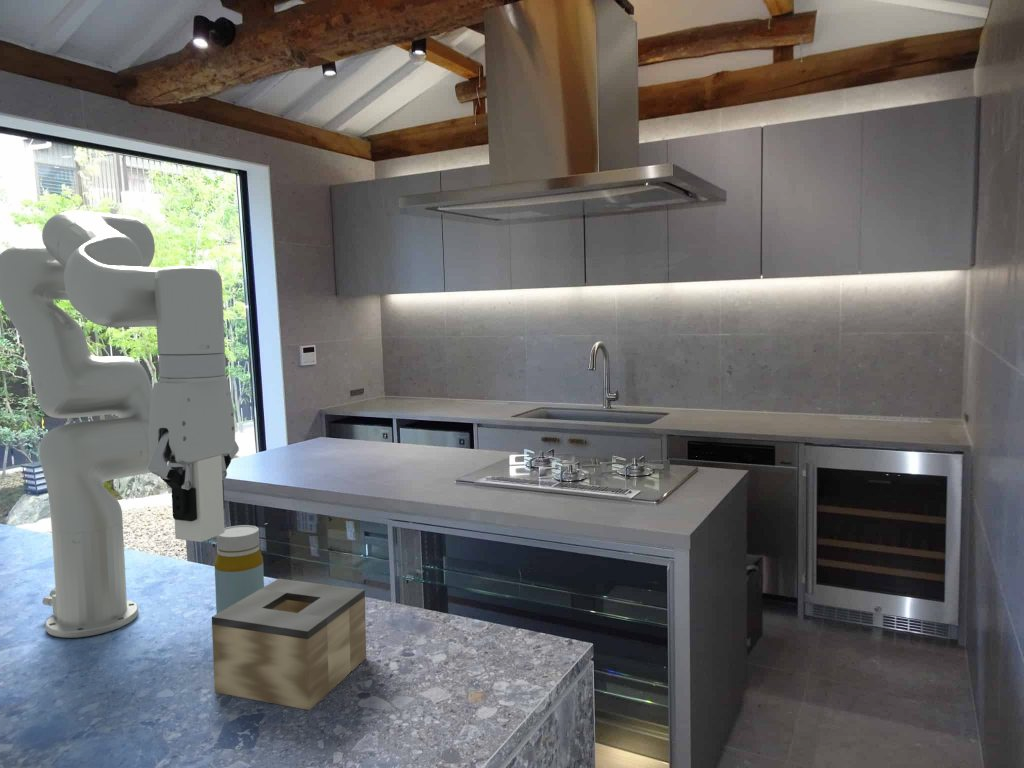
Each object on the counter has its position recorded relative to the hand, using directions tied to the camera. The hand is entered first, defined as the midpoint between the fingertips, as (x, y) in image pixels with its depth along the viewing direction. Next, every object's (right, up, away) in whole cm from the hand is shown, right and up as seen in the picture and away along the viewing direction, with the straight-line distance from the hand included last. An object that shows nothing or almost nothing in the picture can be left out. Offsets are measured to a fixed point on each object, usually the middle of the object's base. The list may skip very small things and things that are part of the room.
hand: (199, 513), depth 90 cm
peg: (0, -3, 0) cm, 3 cm away
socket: (+10, -23, +7) cm, 26 cm away
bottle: (-3, -22, +22) cm, 31 cm away
